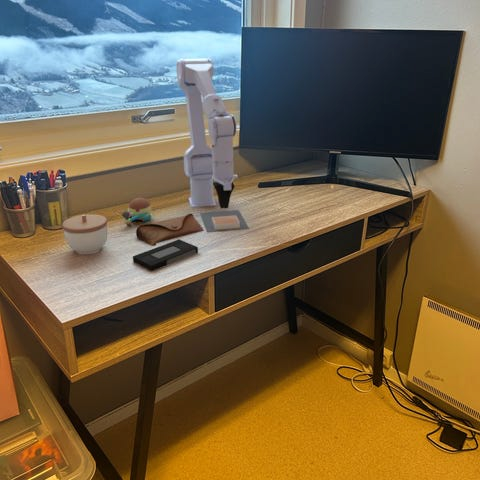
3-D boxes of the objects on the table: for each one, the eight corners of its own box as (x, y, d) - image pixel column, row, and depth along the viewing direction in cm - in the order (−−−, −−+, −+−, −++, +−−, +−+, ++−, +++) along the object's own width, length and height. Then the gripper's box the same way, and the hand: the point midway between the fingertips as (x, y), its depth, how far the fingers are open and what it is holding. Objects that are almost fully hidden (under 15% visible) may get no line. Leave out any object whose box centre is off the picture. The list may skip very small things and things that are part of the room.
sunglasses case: (150, 246, 123) (142, 222, 124) (141, 252, 129) (133, 228, 130) (208, 230, 133) (201, 208, 134) (197, 236, 139) (190, 214, 140)
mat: (200, 214, 146) (199, 212, 146) (238, 211, 148) (238, 210, 148) (206, 233, 132) (206, 232, 131) (249, 230, 134) (249, 228, 133)
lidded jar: (72, 242, 127) (67, 208, 123) (113, 240, 128) (109, 207, 124) (61, 259, 117) (55, 223, 114) (106, 257, 118) (101, 222, 114)
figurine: (118, 224, 143) (111, 204, 139) (147, 211, 147) (141, 191, 144) (128, 232, 137) (122, 211, 134) (158, 218, 142) (153, 198, 138)
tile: (211, 217, 138) (215, 224, 132) (235, 215, 139) (239, 222, 133) (212, 222, 138) (215, 229, 133) (235, 220, 139) (239, 227, 134)
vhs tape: (198, 254, 120) (198, 247, 120) (151, 273, 111) (151, 265, 110) (179, 246, 125) (179, 239, 124) (133, 263, 116) (132, 256, 115)
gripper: (242, 166, 125) (242, 214, 131) (232, 154, 138) (233, 198, 144) (215, 167, 124) (217, 216, 129) (208, 155, 137) (209, 200, 143)
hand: (224, 207), depth 137 cm, fingers closed
